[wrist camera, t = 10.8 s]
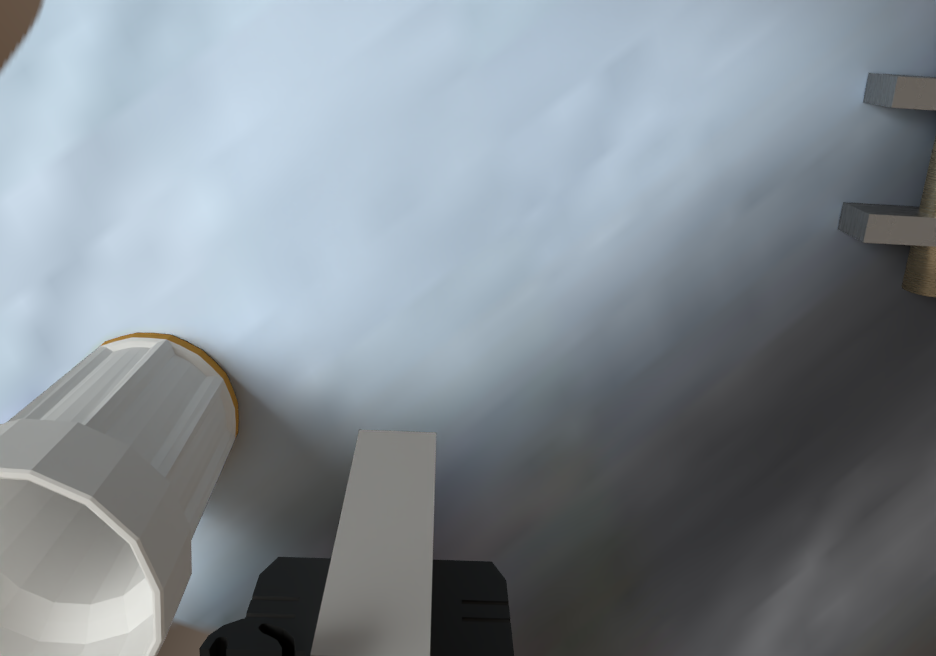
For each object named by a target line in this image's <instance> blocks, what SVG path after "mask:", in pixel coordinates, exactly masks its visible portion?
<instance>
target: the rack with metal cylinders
mask: <svg viewBox="0 0 936 656" xmlns="http://www.w3.org/2000/svg"><path fill="white" fill-rule="evenodd" d="M863 102H864V103H869V104H875V105H880V106H885V107H891V108H905V109H921V110H936V77H924V76H908V75H892V74H877V73H869V74H868V79H867V84H866V89H865V95H864V100H863ZM838 229H839V230H840V231H842V232H844V233H846V234H848V235H850V236H852V237H854V238H856V239H858V240H860V241H861V242H863V243H880V244H898V245H911V247H910V252H909V256H908V261H907V265H906V270H905V274H904V278H903V283H902V288H903V289H904V290H906V291H909V292H912V293H915V294H919V295H924V296H930V297H936V136H935V141H934V145H933V150H932V154H931V159H930V163H929V167H928V172H927V176H926V181H925V185H924V190H923V194H922V199H921V203H920V207H914V206H897V205H880V204H863V203H845V202H843V206H842V211H841V216H840V221H839V226H838Z"/></svg>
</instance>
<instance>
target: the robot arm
mask: <svg viewBox="0 0 936 656" xmlns="http://www.w3.org/2000/svg"><path fill="white" fill-rule="evenodd" d="M435 457H436V433H433V432H406V431H380V430H359V433H358V438H357V442H356V447H355V452H354V456H353V461H352V465H351V470H350V475H349V479H348V484H347V488H346V493H345V498H344V502H343V507H342V511H341V516H340V521H339V525H338V530H337V534H336V539H335V543H334V548H333V553H332V557H331V559H326V558H295V557H278V558H277V559H276V560H275V561H274V562H273V563H272V564H271V565H269V566H268V567H267V568H266V569H265V570H264V571H263V572H262V573H261V574H260V575H259V578H258V581H257V584H256V587H255V590H254V593H253V596H252V600H251V602H250V604H249V607H248V610H247V615H246V617H245V619H241V620H238V621H235V622H232V623H229V624H226V625H223V626H222V627H220V628H219V629H218V630H216V631H215V632H213V633H212V634H210V635H209V636H208V637H207V639H206V640H205V641H204V643H203V644H202V646H201V647H200V656H514V651H513V641H512V632H511V623H510V613H509V606H508V594H507V584H506V580H505V578H504V577H503V576H502V574H501V573H500V572H499V571H498V569H497V568H496V567H495V565H494V564H493V563H492V562H485V561H455V560H433V529H434V493H435Z"/></svg>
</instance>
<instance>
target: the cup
mask: <svg viewBox="0 0 936 656" xmlns="http://www.w3.org/2000/svg"><path fill="white" fill-rule="evenodd" d="M238 423H239V414H238V402H237V399H236V396H235V393H234V390H233V388H232V385H231V383H230V381H229V379H228V376H227V374H226V373H225V372H224V371H223V370H222V369H221V367H220V366H219V365H218V364H217V363H216V362H215V361H214V360H213V359H211V358H210V357H209V356H208V355H207V354H206V353H205V352H204V351H203V350H201V349H199V348H197V347H195V346H194V345H192V344H190V343H188V342H186V341H184V340H181V339H179V338H177V337H175V336H172V335H167V334H157V333H134V334H129V335H125V336H121V337H118V338H115V339H112V340H109V341H105V342H104V343H103V344H102V345H101V346H99V347H98V348H97V349H96V350H95V351H93V352H92V353H91V354H90V355H88V356H87V357H86V358H85V359H83V360H82V361H81V362H80V363H79V364H77V365H76V366H75V367H74V368H72V369H71V370H70V371H69V372H68V373H66V374H65V375H64V376H63V377H61V378H60V379H59V380H58V381H57V382H55V383H54V384H53V385H52V386H50V387H49V388H48V389H47V390H45V391H44V392H43V393H42V394H41V395H39V396H38V397H37V398H36V399H34V400H33V401H32V402H31V403H30V404H28V405H27V406H26V407H25V408H23V409H22V410H21V411H20V412H18V413H17V414H16V415H15V416H14V417H12V418H11V419H10V420H9V421H7V422H6V423H4V424H0V656H157V654H158V652H159V650H160V648H161V646H162V644H163V642H164V640H165V638H166V636H167V633H168V631H169V628H170V626H171V623H172V621H173V618H174V616H175V613H176V611H177V608H178V606H179V604H180V601H181V599H182V596H183V594H184V591H185V589H186V586H187V584H188V581H189V579H190V576H191V574H192V565H191V540H192V538H193V535H194V533H195V531H196V528H197V526H198V524H199V521H200V519H201V517H202V514H203V512H204V510H205V508H206V505H207V503H208V501H209V498H210V496H211V494H212V491H213V489H214V487H215V485H216V482H217V480H218V478H219V475H220V473H221V471H222V468H223V466H224V464H225V462H226V459H227V457H228V455H229V452H230V450H231V448H232V445H233V443H234V441H235V438H236V436H237V434H238Z"/></svg>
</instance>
